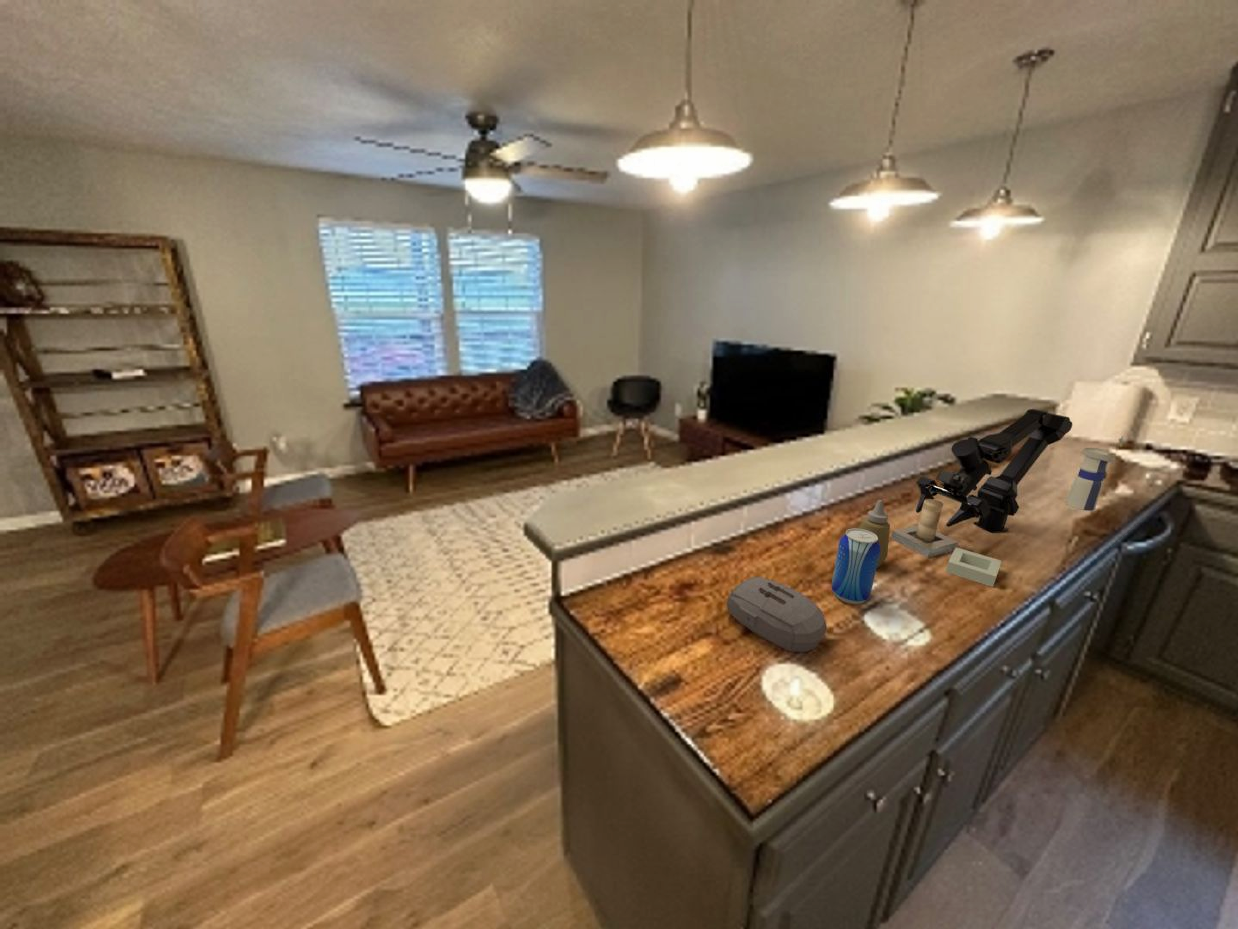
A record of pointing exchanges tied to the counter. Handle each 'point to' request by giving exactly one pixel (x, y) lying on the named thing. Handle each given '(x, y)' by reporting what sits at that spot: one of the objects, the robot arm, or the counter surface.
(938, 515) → the tan rounded peg
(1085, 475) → the water bottle
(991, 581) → the collar
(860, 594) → the beer can
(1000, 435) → the robot arm
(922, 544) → the socket block
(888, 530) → the squeeze bottle
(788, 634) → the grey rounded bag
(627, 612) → the counter surface
